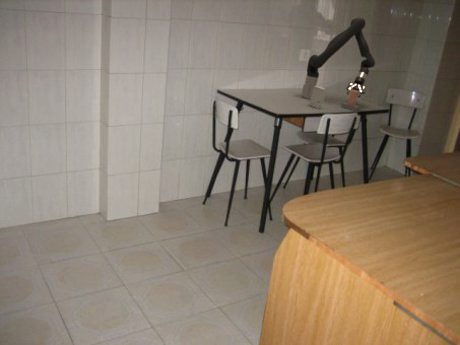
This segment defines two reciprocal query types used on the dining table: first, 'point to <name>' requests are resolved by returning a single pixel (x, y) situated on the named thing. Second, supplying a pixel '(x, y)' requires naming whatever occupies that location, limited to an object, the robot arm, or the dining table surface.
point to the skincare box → (317, 97)
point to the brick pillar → (353, 97)
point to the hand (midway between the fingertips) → (353, 95)
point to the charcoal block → (350, 106)
